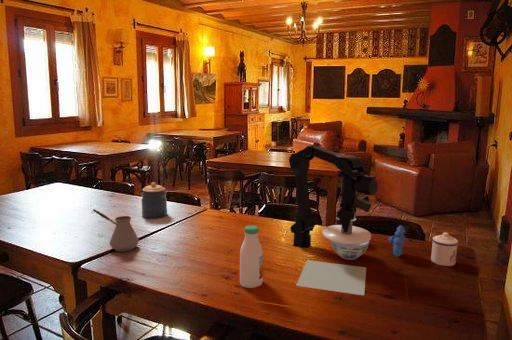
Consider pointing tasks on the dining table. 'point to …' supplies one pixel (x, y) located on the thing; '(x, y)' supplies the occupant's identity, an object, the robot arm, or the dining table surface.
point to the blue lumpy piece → (398, 240)
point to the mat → (333, 277)
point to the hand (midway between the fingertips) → (346, 230)
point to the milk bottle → (251, 259)
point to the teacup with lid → (444, 250)
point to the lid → (346, 234)
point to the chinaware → (349, 249)
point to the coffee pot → (122, 233)
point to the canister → (154, 201)
